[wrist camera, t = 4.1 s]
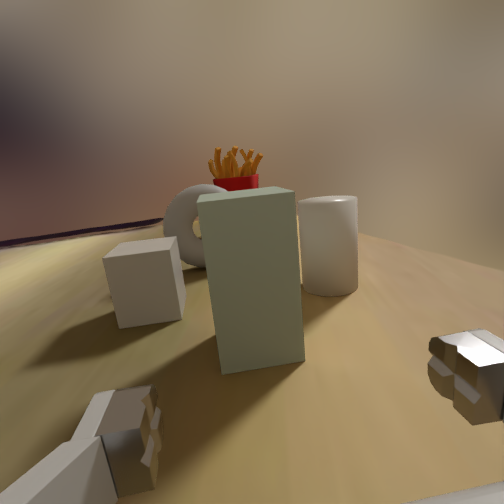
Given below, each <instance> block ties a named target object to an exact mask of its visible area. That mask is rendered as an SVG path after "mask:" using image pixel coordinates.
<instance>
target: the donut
mask: <svg viewBox="0 0 504 504" xmlns="http://www.w3.org/2000/svg"><path fill="white" fill-rule="evenodd" d="M220 192H228V191H227V190H226V189H223V188H220V187H218V186H215V185H206V184H200V185H196V186H192V187H189V188H187V189H185V190H183V191H182V192H181V193H179V194H178V195H176V196H175V198H174V199H173V200H172V202H171V203H170V204H169V206H168V207H167V210H166V213H165V216H164V219H163V231H164V236H165V237H173V236H176V237H177V243H178V249H179V255H180V259H181V260H182V261H184V262H185V263H187V264H190V265H193V266H197V267H206V264H205V257H204V251H203V244H202V240H201V239H199V238H198V237H196V235H195V234H194V232H193V229H192V225H193V222H194V220H195V218H196V217H197V216H198V210H197V203H196V202H197V200H198V198H199V196H200V195H202V194H211V193H220Z"/></svg>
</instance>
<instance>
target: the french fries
mask: <svg viewBox="0 0 504 504" xmlns="http://www.w3.org/2000/svg"><path fill="white" fill-rule="evenodd" d="M237 150H238V147H237V146H233V148H232V151H229V152H227V153H228V154H227V155H226V156H225V157H224V159H223V160H222V166H221V163H220V153H221V148H219V147H217V148H215V156H214V162H215V166H216V170H215V169H214V165H213V160H211V159H210V160H209V162H208V164H209V169H210V172H211V173H212V174H213V176H214V177H215V178H216V179H214V180H213V182H214V185H215V186H218V187H220V188H223V189H226V190H227V191H228V192H229V191H238V190H247V189H256V188H258V174H256V170H257V166H258V164H259V162H260V160H261V159H262V157H263V155H262V154H261V153H258V154H257V156H256V158H255V159H254V161H253V159H251V157H252V154H253V151H254V150H253V149H250V150H249V152H248V155H247V156H246V154H245V153H244V151H243V149H241V150H240V153H241V154H242V156H243V157H244V160H245V163H244V164H243V166H242V167H240V168H238V165H237V161H236V159H235V156H236V153H237Z"/></svg>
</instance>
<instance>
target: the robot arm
mask: <svg viewBox="0 0 504 504" xmlns="http://www.w3.org/2000/svg"><path fill="white" fill-rule="evenodd" d="M429 352H430V353H431V354H432V355H433V356H432V358H431V359H430V361H429V362H428V376H429V379H430V382H431V384H432V385H433V387H434V388H435V390H436V391H437V392H438V393H439V394H440V395H441V396H443V397H445V398H448V399H450V400H452V401H453V407H454V408H455V409H456V410H457V411H458V412H459V413H460V414H461V415H462V416H463V417H464V418H465V419H466V420H467V421H468V422H469V423H470V424H471V425H472V426H473V425H479V424H485V423H491V422H497V421H503V423H504V340H502V339H501V338H499V337H497V336H495V335H494V334H492V333H490V332H488V331H487V330H484V329H479V328H478V329H473V330H468V331H463V332H460V333H455V334H449V335H444V336H438V337H433V338H431V340H430V342H429ZM157 400H158V394H157V390H156V387H155V385H154V384H150V385H144V386H137V387H130V388H123V389H117V390H110V391H104V392H98V393H96V394H95V395H94V396H93V398H92V400H91V401H90V403H89V405H88V407H87V409H86V411H85V413H84V415H83V417H82V419H81V421H80V422H79V424H78V426H77V428H76V430H75V432H74V434H73V436H72V438H71V440H70V441H69V442H63V443H62V444H61V445H60V446H58V447H57V448H56V449H55V450H53V451H52V452H51V453H50V454H48V455H47V456H46V457H45V458H44V459H42V460H41V461H40V462H39V463H37V464H36V465H35V466H34V467H32V468H31V469H30V470H29V471H28V472H26V473H25V474H24V475H23V476H21V477H20V478H19V479H18V480H16V481H15V482H14V483H13V484H11V485H10V486H9V487H8V488H7V489H5V490H4V491H3V492H2V493H0V504H116V502H117V501H118V498H120V497H124V496H129V495H133V494H137V493H142V492H146V491H150V490H154V489H155V483H156V478H157V472H158V467H159V462H158V458H157V454H158V452H159V451H160V450H161V449H162V443H163V418H162V413H161V410H160V409H159V408H157V407H156V404H157ZM402 504H504V481H501V482H496V483H492V484H487V485H483V486H478V487H474V488H469V489H465V490H460V491H456V492H451V493H447V494H442V495H438V496H433V497H429V498H424V499H420V500H415V501H411V502H406V503H402Z"/></svg>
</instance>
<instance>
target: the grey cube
mask: <svg viewBox="0 0 504 504" xmlns="http://www.w3.org/2000/svg"><path fill="white" fill-rule="evenodd" d="M102 260H103V264H104V268H105V272H106V276H107V281H108V285H109V289H110V293H111V298H112V302H113V306H114V310H115V314H116V319H117V323H118V327H119V329H122V328H128V327H135V326H142V325H148V324H155V323H162V322H168V321H175V320H182V316H183V311H184V306H185V300H186V291H185V285H184V279H183V273H182V267H181V261H180V255H179V249H178V243H177V237H176V236H173V237H165V238H157V239H149V240H141V241H133V242H125V243H120V244H119V245H117V246H116V247H115V248H114V249H113V250H111V251H110V252H109V253H108V254H106V255H105V256H104V257H103V258H102Z"/></svg>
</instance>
